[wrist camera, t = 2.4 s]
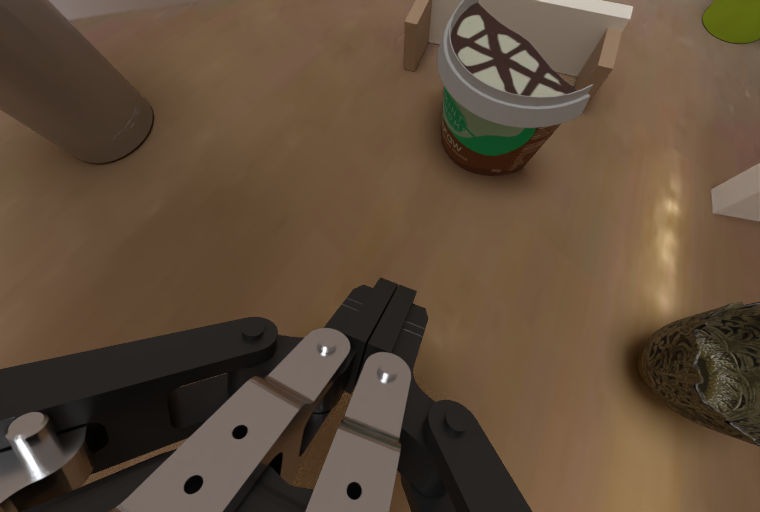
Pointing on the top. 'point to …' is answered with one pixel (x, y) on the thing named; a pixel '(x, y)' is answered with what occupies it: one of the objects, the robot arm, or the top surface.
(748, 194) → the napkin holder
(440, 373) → the top surface
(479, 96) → the food container
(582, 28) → the back stop bracket
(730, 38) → the soap dispenser
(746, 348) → the cup
